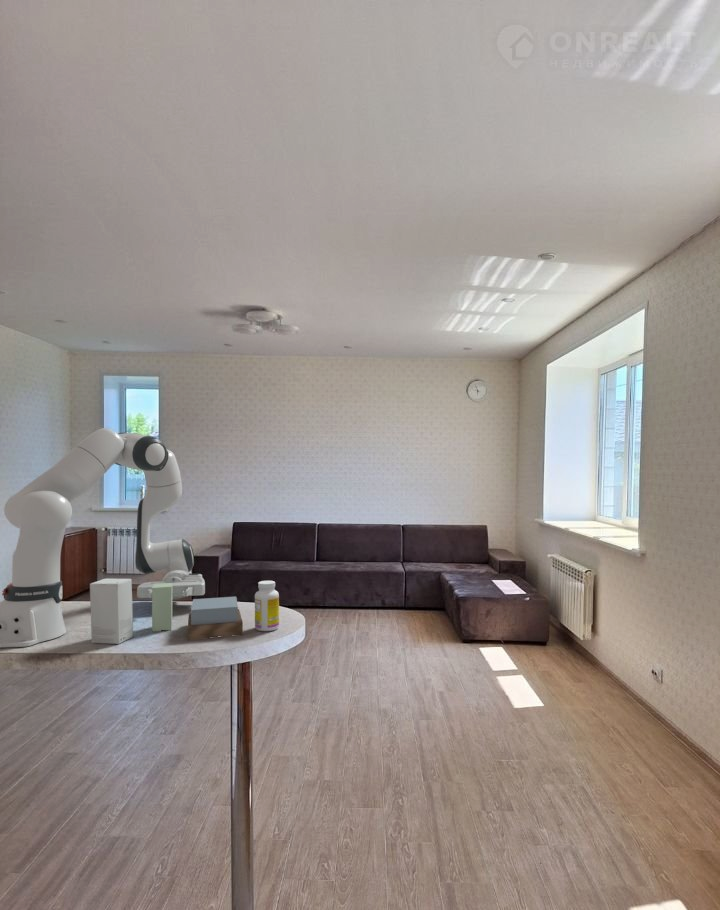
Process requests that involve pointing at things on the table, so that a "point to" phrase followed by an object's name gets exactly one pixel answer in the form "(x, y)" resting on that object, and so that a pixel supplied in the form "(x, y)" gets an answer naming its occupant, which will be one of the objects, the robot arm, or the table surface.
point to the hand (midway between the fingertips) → (168, 594)
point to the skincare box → (111, 611)
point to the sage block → (162, 607)
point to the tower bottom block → (214, 629)
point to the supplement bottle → (266, 607)
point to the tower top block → (214, 610)
